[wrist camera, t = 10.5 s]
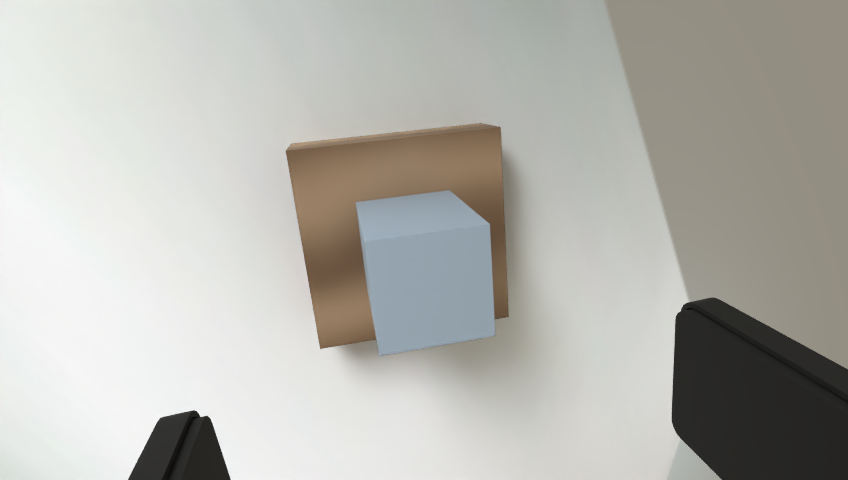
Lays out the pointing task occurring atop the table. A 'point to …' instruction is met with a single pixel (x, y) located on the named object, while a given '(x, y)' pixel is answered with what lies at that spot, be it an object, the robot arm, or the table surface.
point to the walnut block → (377, 179)
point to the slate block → (426, 271)
